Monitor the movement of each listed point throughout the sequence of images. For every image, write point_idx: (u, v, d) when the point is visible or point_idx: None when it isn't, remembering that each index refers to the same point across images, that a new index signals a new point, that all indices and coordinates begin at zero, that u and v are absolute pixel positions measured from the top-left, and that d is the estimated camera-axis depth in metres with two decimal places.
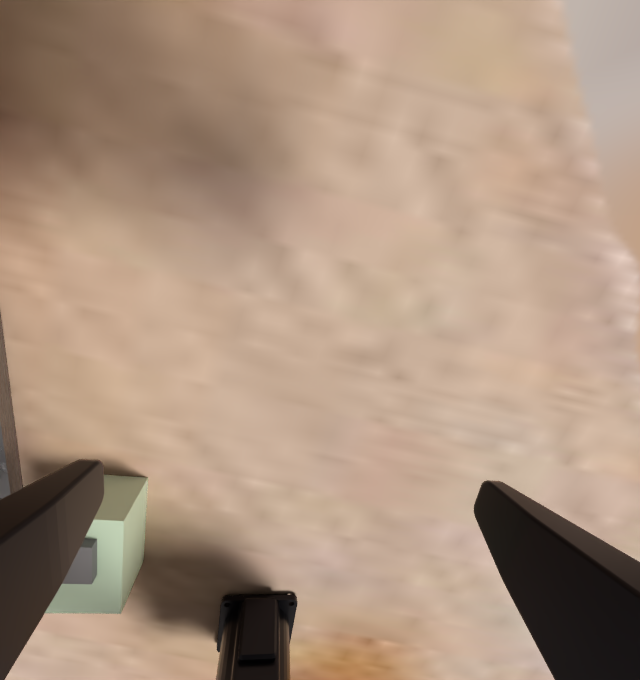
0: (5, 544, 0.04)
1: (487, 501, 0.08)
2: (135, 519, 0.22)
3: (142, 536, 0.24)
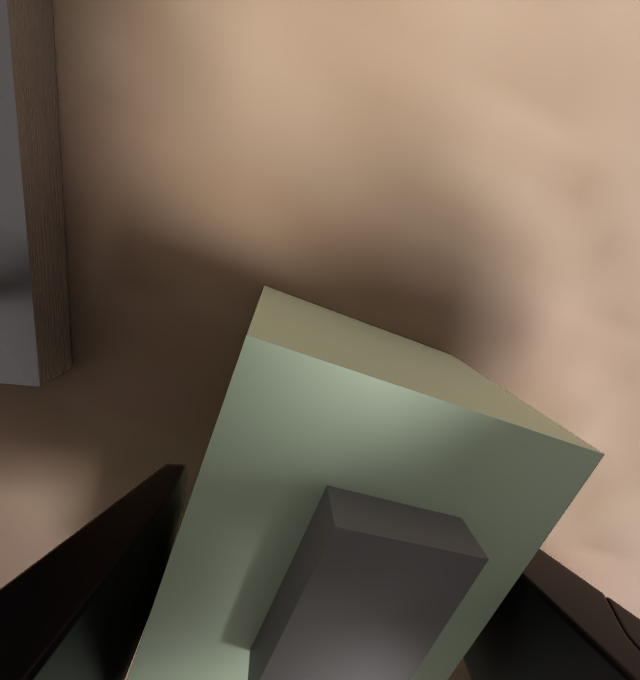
0: (138, 546, 0.05)
1: None
2: None
3: None
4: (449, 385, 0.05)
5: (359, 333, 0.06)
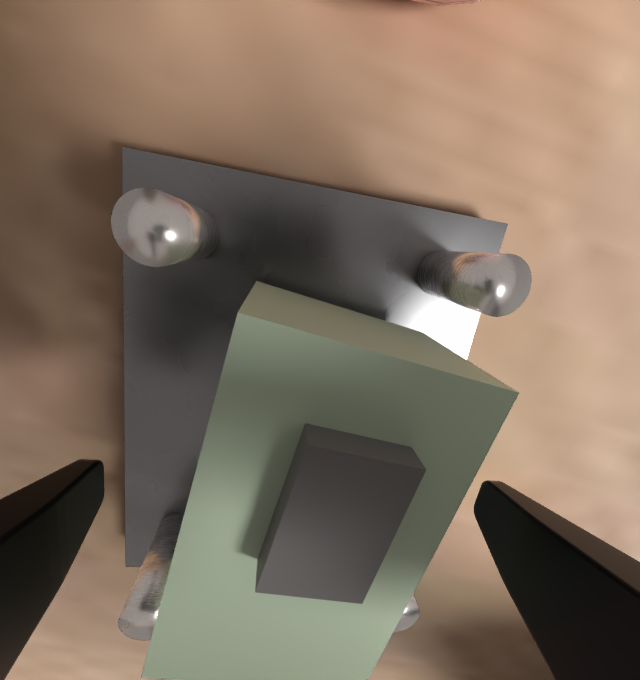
0: (5, 544, 0.04)
1: (487, 501, 0.08)
2: None
3: None
4: (400, 348, 0.06)
5: (334, 314, 0.07)
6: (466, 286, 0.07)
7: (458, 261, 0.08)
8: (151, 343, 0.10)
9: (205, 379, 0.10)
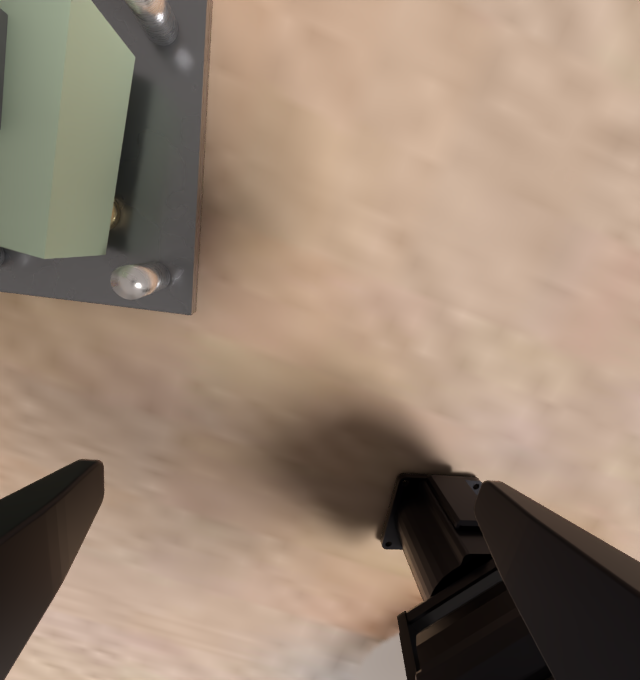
0: (5, 544, 0.04)
1: (487, 501, 0.08)
2: (99, 80, 0.11)
3: (107, 181, 0.13)
4: None
5: None
6: None
7: None
8: None
9: None
